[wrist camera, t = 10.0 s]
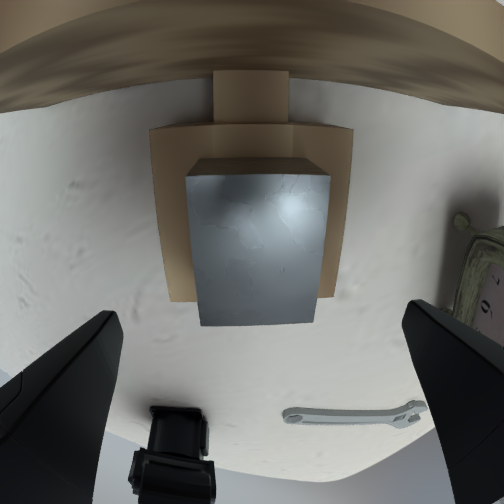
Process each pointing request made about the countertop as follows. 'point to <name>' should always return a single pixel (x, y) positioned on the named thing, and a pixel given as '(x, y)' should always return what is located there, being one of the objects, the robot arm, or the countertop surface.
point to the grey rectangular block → (257, 238)
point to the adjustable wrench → (356, 416)
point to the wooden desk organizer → (250, 79)
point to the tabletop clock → (481, 282)
